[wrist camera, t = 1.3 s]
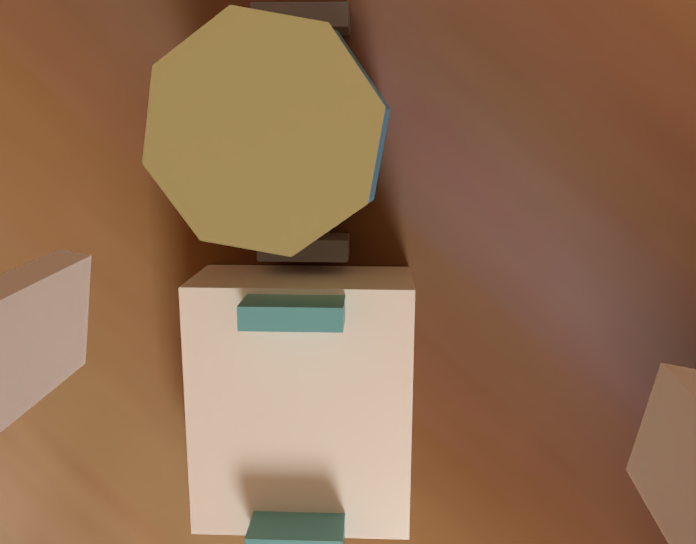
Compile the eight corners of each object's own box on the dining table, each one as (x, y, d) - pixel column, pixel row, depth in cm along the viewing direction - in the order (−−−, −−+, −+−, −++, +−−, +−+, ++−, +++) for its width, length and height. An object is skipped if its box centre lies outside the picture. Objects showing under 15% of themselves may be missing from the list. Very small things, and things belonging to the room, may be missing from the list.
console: (217, 477, 41) (177, 563, 33) (197, 13, 35) (143, -25, 27) (403, 481, 41) (411, 569, 32) (414, 12, 35) (426, -27, 27)
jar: (279, 19, 35) (213, -64, 21) (417, 110, 36) (448, 92, 21) (198, 161, 37) (84, 176, 23) (331, 245, 38) (305, 313, 23)
